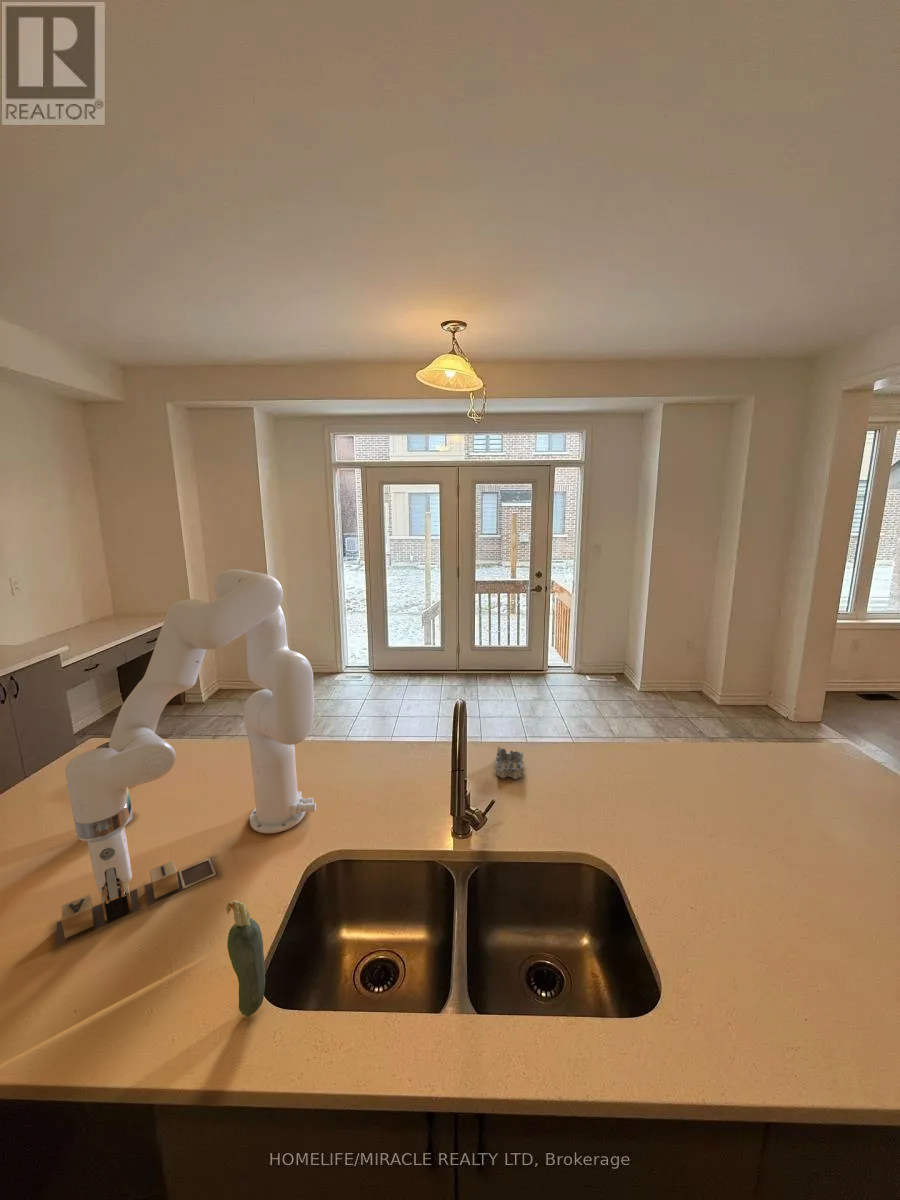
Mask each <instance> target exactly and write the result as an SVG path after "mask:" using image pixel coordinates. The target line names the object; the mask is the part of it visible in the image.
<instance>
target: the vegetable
mask: <svg viewBox="0 0 900 1200" xmlns="http://www.w3.org/2000/svg"><path fill="white" fill-rule="evenodd" d="M225 909H226V912H227V913H226V914H228V915H229V914H230V912H231V910H232V911H233V919H234V922H235V923H234V924H233V925H232V926H231V927H230V929H229V931H228V935H227V942H226V943H227V945H226V946H227V952H228V957H229V960H230V964H231V965H232V969H233V971H234V973H235V975H236V977H237V982H238V1010H239V1012H240V1014H241V1015H243V1016H244V1017H243V1018H244V1019H245V1020H246V1019H248V1018H249V1017H251V1016H253V1015H254V1014H255V1013H256V1012H257V1011H258V1010H259V1009H260V1008H261V1006H262V1004H263V1002H264V998H265V989H266V971H265V970H266V969H265V968H266V967H265V953H264V940H263V934H262V929H261V928H260V925H259V923H258V922H257V921H256V920H255V919H254V918H252V917H251V914H250V912H249V910H248V908H246V905H245V903H244V902H242V901H237V900H236V899H235V900H232V901H230V902H229V903H227V905H226V907H225Z"/></svg>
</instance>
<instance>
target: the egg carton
mask: <svg viewBox="0 0 900 1200" xmlns="http://www.w3.org/2000/svg"><path fill="white" fill-rule="evenodd" d="M496 750H497V751H496V758H495V767H496V769H495V770H496V776H497V777H499V778H500V779H505V778H508V777H510V778H513V779H515V780H517V779H518V778H522V775H523V773H522V768H523V767H524V752H522V751H517V750H516V751H513V750H512V749H511V750H510V752H508V751H507V750H506V749H505V748H501V747H500V746H497V749H496Z"/></svg>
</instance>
